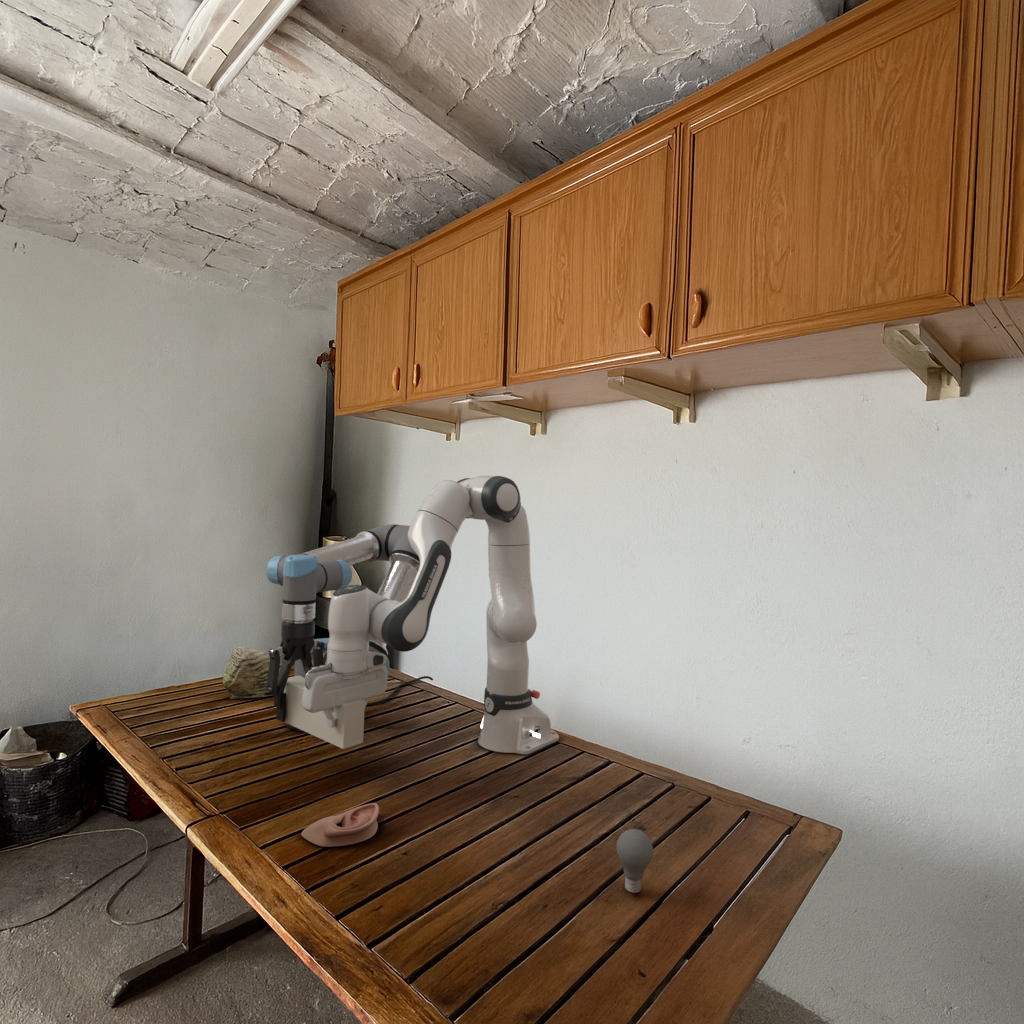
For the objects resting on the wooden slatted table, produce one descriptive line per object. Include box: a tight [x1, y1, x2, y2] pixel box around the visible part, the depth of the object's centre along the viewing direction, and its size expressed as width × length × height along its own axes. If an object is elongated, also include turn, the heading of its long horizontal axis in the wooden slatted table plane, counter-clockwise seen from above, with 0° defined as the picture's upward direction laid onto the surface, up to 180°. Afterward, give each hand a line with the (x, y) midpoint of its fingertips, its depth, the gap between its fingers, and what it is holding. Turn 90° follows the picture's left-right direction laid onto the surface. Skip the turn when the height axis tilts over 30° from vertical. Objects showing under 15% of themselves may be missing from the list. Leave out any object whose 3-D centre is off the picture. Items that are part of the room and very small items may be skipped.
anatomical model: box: [300, 802, 380, 848], centre depth 120 cm, size 13×4×12 cm
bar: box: [284, 675, 366, 750], centre depth 145 cm, size 26×5×10 cm, turn 51°
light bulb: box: [615, 828, 654, 894], centre depth 106 cm, size 6×6×10 cm
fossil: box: [222, 646, 280, 699], centre depth 198 cm, size 9×18×15 cm, turn 132°
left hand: (294, 716), depth 151 cm, fingers open, 7 cm apart
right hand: (345, 722), depth 139 cm, fingers closed on bar, 5 cm apart
